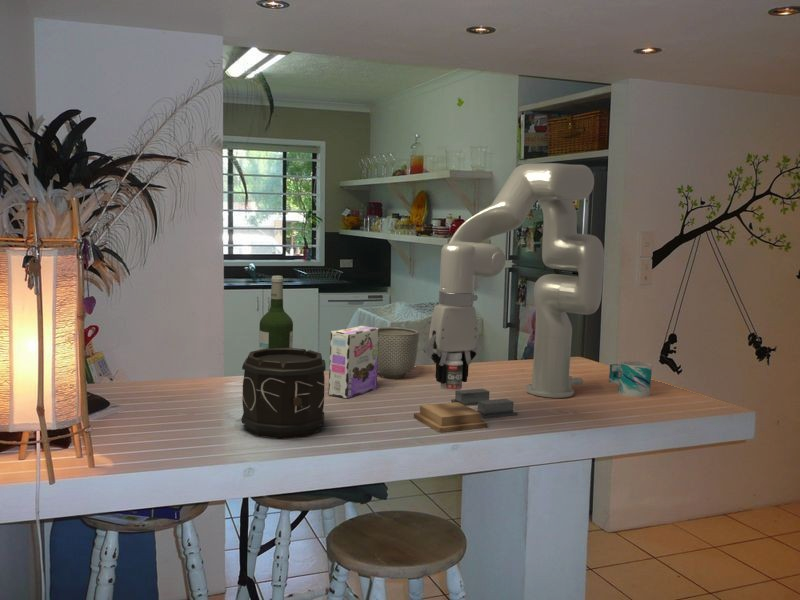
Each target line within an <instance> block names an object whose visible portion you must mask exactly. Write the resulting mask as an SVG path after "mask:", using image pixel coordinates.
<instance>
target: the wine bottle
mask: <svg viewBox="0 0 800 600" xmlns="http://www.w3.org/2000/svg"><path fill="white" fill-rule="evenodd" d="M270 281H271V288H270V307H269V309H268V311H267V312H266V313H265V314H264V315H263V316H262V317H261V319H260V321H259V335H258V336H259V339H258V350H261V349H267V348H293V347H294V346H293V341H294V340H293V339H294V338H293V337H294V334H293V333H294V332H293V331H294V322H293V320H292V318H291V316H290V315H289V314H288V313H286V311H285V308H284V289H283V288H284V285H283V284H284V278H283V275H272V276H271V280H270Z"/></svg>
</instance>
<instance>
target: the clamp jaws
mask: <svg viewBox="0 0 800 600" xmlns="http://www.w3.org/2000/svg"><path fill="white" fill-rule="evenodd" d="M454 392H455V393H454V399H453V398H452V399H451V400H450V403H455V402H459V403H461V404H463V405H465V406H474V405H477V411H478V412H480V413H481V418H484V419H491V418H493V419H495V418H501V417H511V416H512V417H513V416H518V411H515V410H514V404H515V403H514V401H513V400H511V399H509V398H500V399H490V391H489V390H487V389H486V388H485V389H484V388H475V389H472V388H471V389H461V390H459V391H454Z"/></svg>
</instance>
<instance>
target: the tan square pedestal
mask: <svg viewBox="0 0 800 600" xmlns="http://www.w3.org/2000/svg"><path fill="white" fill-rule="evenodd" d="M413 419H414V420H417V421H419V422H421V424H424V425H426V427H429V428H430V429H432V430H434V431H436V432H437V433H450V432H458V431H466V430H467V431H468V430H475V429H476V430H477V429H486V428H488V422H486V421H484V420H482V417H481V413H480V412H478V410H475V409H474V408H471V407H470V406H468V405H463V404H461V403H459V402H455V403H452V402H447V403H446V402H445V403H436V404H434V403H433V404H423V405H419V412H415V413H413Z"/></svg>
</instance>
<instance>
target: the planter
mask: <svg viewBox="0 0 800 600" xmlns="http://www.w3.org/2000/svg"><path fill="white" fill-rule="evenodd" d="M378 328H379V337H378V364H377V365H378V366H377V373H378V374H379V375H380V377H382V378H385V379H392V380H393V379H402V378H405V377H406V375H407V374H408V373H410V372H411V371H412V370H414V368H415V365H416V362H417V355H418V349H419V341H420V331H418V330H417V329H414V328H410V327H408V328H407V327H401V326H398V327H397V326H384V327H383V326H381V327H378Z"/></svg>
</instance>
